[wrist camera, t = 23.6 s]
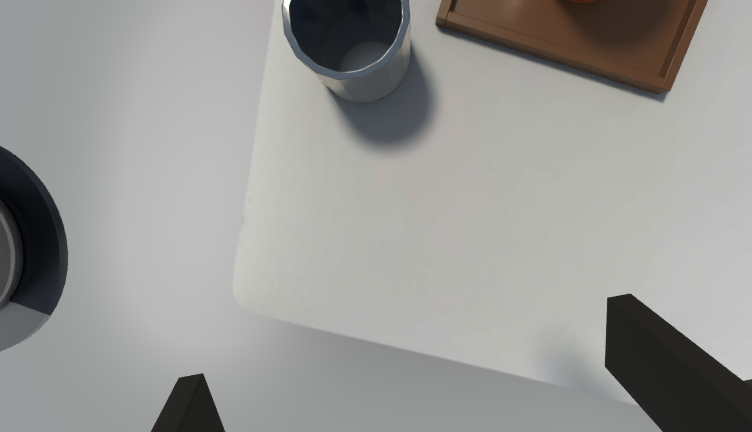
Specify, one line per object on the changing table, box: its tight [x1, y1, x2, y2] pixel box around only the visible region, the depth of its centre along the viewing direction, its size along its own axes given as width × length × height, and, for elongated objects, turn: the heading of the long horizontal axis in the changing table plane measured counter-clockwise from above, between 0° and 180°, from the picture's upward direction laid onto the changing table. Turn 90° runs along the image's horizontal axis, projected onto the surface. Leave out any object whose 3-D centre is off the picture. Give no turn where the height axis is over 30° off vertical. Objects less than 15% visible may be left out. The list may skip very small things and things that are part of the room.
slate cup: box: [282, 0, 410, 102], centre depth 32 cm, size 8×8×10 cm
